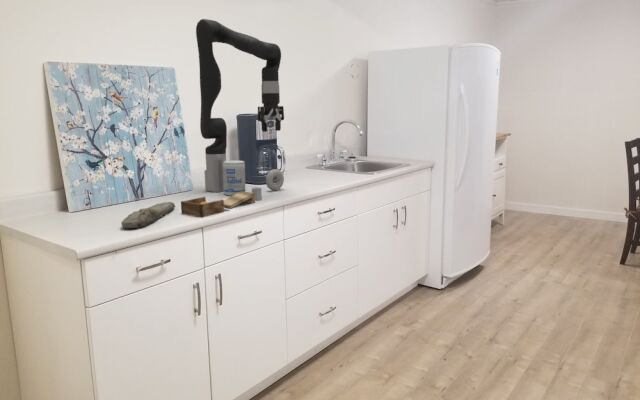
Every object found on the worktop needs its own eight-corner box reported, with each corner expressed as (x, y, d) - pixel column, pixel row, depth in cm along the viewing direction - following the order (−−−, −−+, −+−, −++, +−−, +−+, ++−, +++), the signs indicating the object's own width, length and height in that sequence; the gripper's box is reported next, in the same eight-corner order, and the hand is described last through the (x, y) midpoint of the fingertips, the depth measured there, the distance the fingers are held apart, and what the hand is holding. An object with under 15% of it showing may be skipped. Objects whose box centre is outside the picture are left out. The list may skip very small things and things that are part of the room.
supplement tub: (227, 196, 223) (225, 163, 220) (221, 193, 231) (220, 160, 228) (248, 195, 227) (247, 161, 224) (242, 191, 235) (241, 159, 232)
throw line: (210, 206, 202) (210, 206, 202) (229, 210, 196) (229, 209, 196) (206, 207, 201) (206, 207, 201) (226, 211, 194) (226, 210, 194)
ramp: (242, 200, 214) (242, 191, 213) (254, 202, 210) (254, 192, 209) (217, 206, 203) (217, 196, 202) (230, 208, 199) (229, 198, 198)
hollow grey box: (256, 198, 218) (256, 187, 217) (261, 199, 216) (261, 187, 215) (252, 199, 215) (251, 188, 214) (257, 200, 214) (256, 188, 213)
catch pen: (204, 208, 200) (203, 196, 199) (223, 211, 193) (223, 200, 193) (181, 213, 191) (180, 201, 190) (201, 217, 185) (200, 204, 184)
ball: (196, 202, 191) (204, 198, 194) (196, 211, 193) (204, 206, 196) (204, 207, 189) (211, 202, 192) (204, 215, 191) (212, 210, 194)
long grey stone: (182, 212, 201) (157, 213, 202) (180, 198, 200) (156, 199, 201) (143, 229, 166) (114, 230, 167) (142, 213, 166) (112, 214, 167)
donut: (269, 192, 232) (268, 170, 230) (264, 191, 235) (263, 169, 233) (285, 189, 239) (285, 168, 237) (280, 188, 242) (280, 167, 240)
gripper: (265, 92, 208) (266, 132, 211) (288, 92, 219) (288, 130, 222) (252, 92, 212) (253, 131, 215) (274, 92, 224) (275, 129, 227)
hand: (271, 131), depth 219 cm, fingers open, 8 cm apart
